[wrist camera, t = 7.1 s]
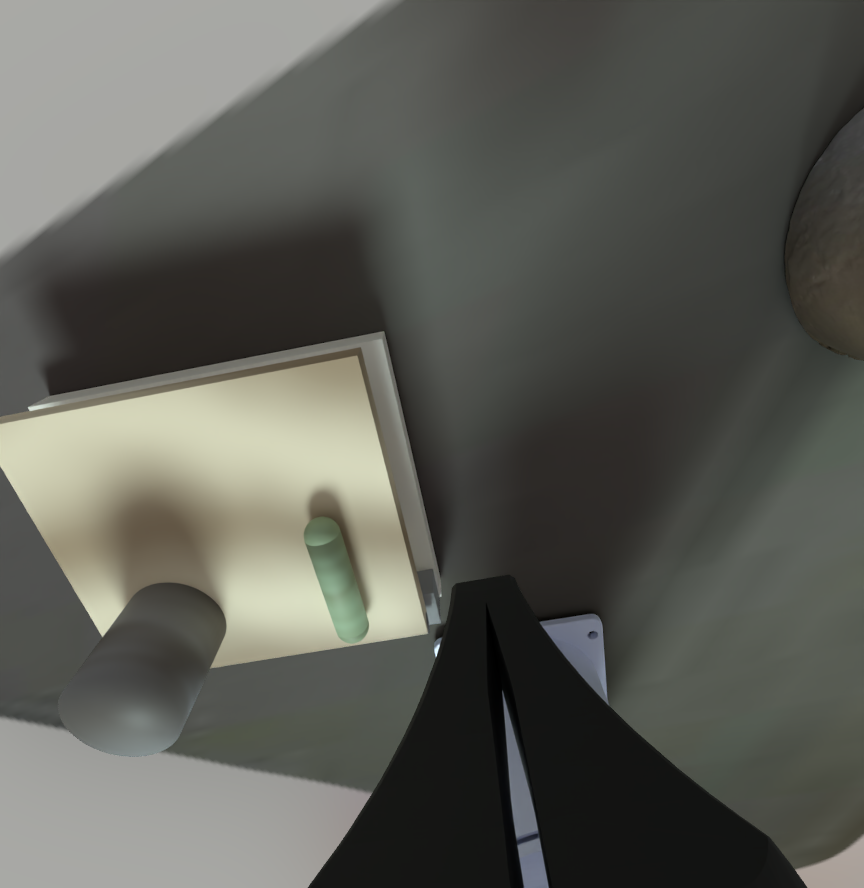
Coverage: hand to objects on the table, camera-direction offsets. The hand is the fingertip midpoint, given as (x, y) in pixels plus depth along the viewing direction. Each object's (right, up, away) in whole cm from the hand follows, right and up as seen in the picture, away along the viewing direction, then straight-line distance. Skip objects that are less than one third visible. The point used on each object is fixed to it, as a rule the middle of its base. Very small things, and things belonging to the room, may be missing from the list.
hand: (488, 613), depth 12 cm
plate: (-8, +1, +7) cm, 11 cm away
